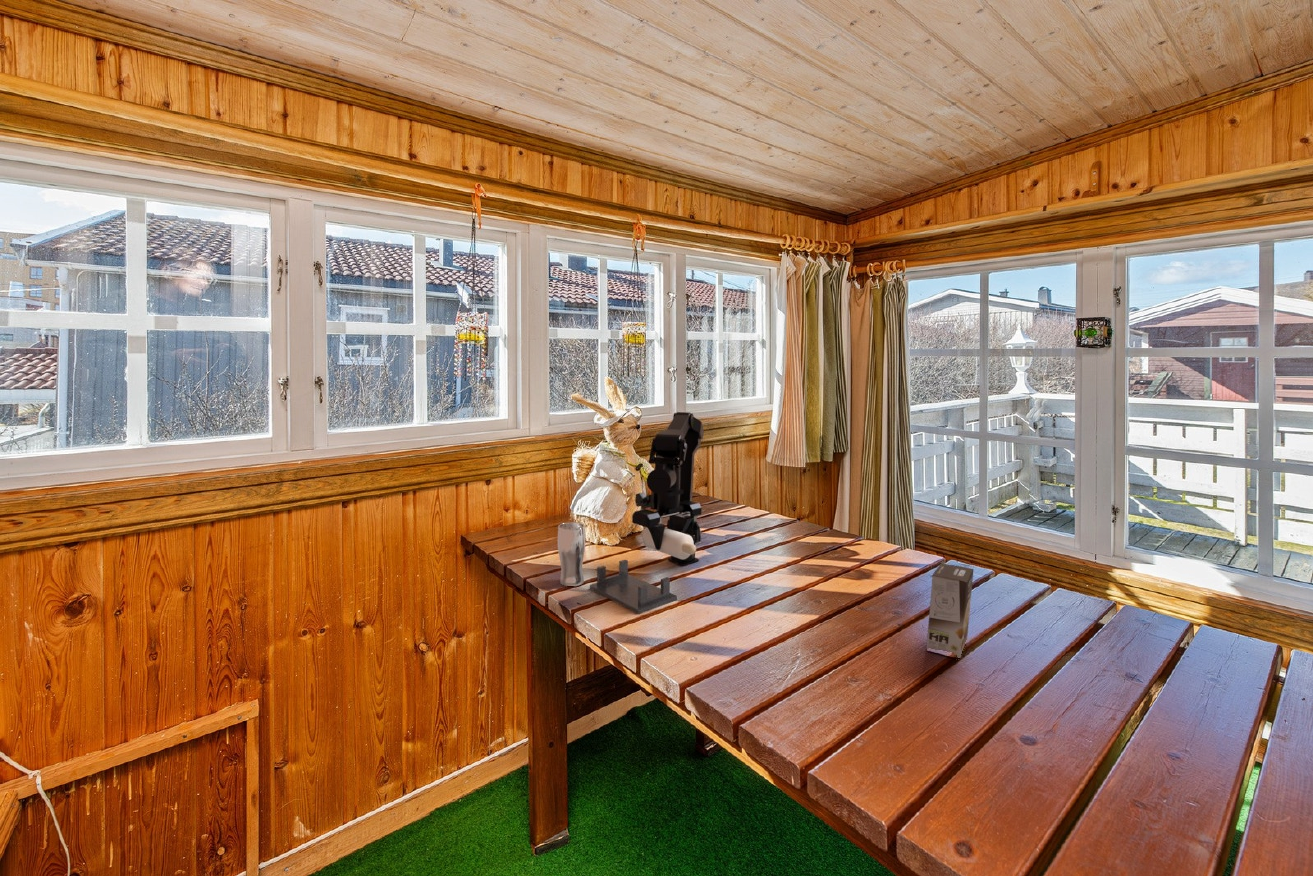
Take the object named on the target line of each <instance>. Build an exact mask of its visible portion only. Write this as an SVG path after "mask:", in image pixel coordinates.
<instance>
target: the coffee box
mask: <svg viewBox="0 0 1313 876" xmlns="http://www.w3.org/2000/svg"><path fill="white" fill-rule="evenodd" d="M974 570H975V569H974V568H971V567H965V566H960V565H954V564H949V563H948V564H947V563H940V564H939V565H938V567H937V568H936V569H935V570H934V572H933V574H932V575H931V576H932V577H931V578H932V579H931V591H930V602H929V614H928V627H927V635H926V636H927V638H926V648H927V647H928V648H931V649H935V650H943V651H947V652H952V653H954V654H955V655H957V657H958V658H960V659H961V658H962V655H963V653H962V651H963V652H964V650H963V648H964V645H965V642H966V640H967V641H968V634H969V624H970V612H971V611H970V610H971V600H972V589H973V582H974V581H973V580H974V579H973V577H974ZM964 649H965V648H964ZM961 654H962V655H961Z"/></svg>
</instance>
